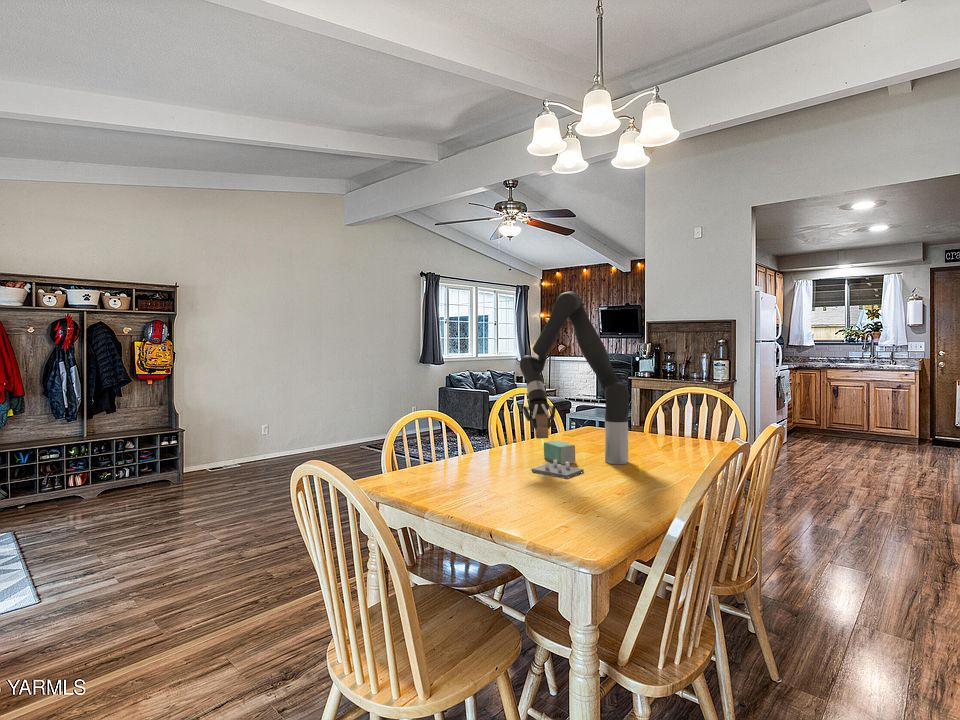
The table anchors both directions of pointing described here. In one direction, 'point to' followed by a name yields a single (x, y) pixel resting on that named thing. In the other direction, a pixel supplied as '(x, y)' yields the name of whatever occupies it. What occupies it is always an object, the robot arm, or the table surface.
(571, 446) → the box
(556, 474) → the peg plate
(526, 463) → the table surface
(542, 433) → the post
